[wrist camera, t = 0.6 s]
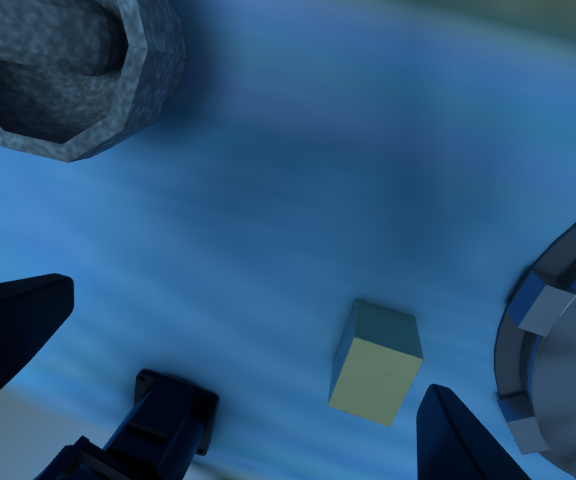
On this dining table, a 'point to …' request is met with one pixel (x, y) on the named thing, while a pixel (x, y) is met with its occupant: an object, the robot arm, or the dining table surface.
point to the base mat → (511, 338)
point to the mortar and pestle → (85, 72)
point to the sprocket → (546, 368)
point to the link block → (375, 363)
